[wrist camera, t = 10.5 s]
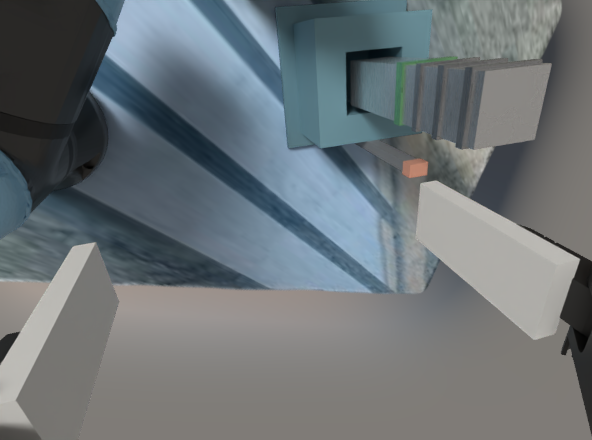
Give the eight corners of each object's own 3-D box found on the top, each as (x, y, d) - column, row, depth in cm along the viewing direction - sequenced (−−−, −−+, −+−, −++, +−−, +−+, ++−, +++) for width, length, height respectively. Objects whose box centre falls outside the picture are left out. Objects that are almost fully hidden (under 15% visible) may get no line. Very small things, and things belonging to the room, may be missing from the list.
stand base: (287, 146, 53) (335, 197, 35) (274, 7, 45) (328, -20, 27) (397, 130, 56) (492, 169, 38) (403, -2, 48) (528, -32, 30)
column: (349, 107, 44) (470, 152, 24) (348, 58, 41) (483, 68, 22) (389, 101, 45) (536, 141, 25) (391, 54, 42) (555, 59, 23)
